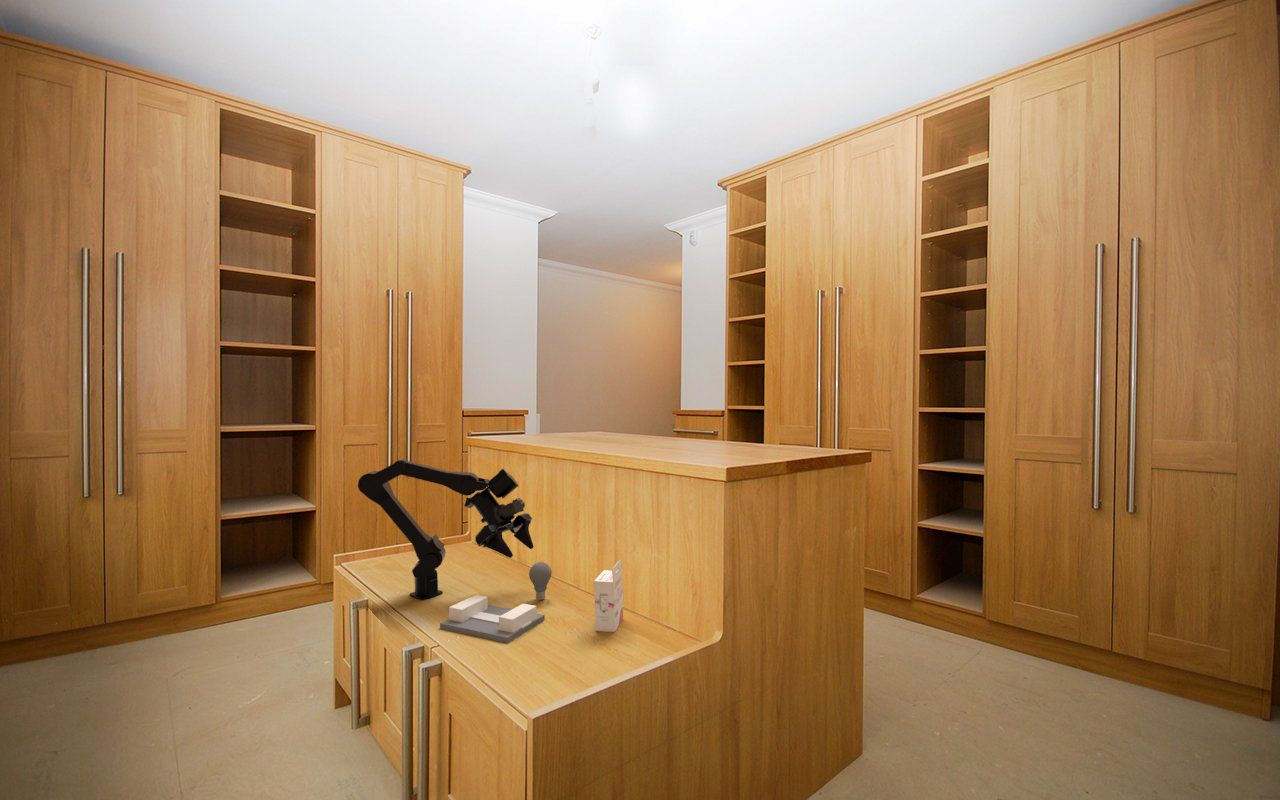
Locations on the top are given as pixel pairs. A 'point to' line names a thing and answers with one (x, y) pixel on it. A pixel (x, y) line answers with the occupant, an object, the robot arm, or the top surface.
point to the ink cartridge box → (609, 599)
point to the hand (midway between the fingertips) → (522, 552)
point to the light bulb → (540, 578)
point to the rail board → (491, 619)
